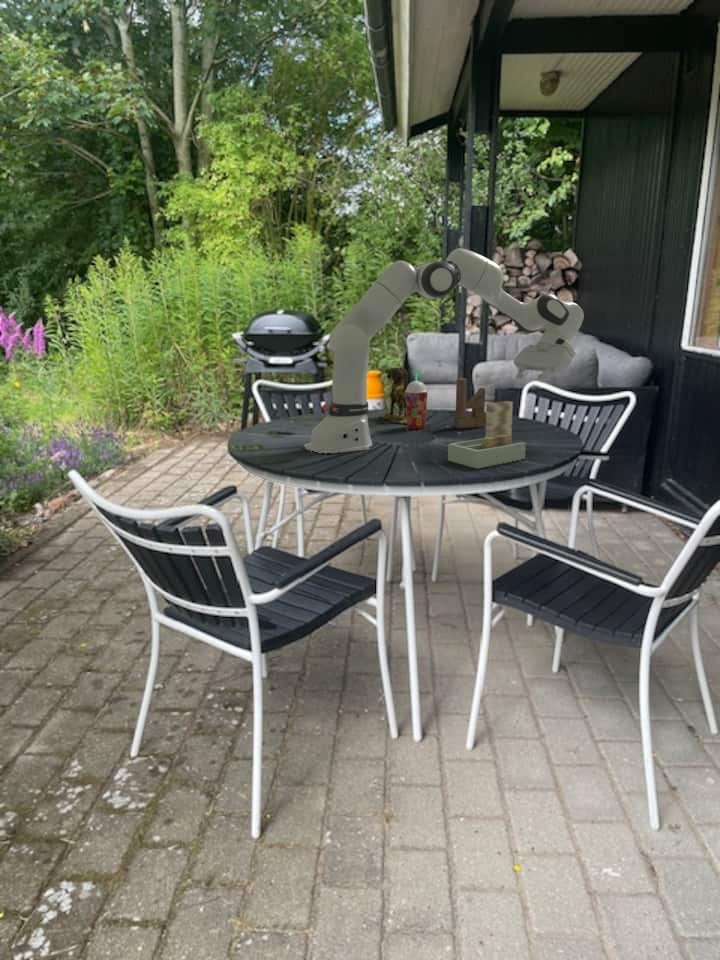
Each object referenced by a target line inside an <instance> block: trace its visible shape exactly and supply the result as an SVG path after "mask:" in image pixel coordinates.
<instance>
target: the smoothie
mask: <svg viewBox="0 0 720 960" xmlns="http://www.w3.org/2000/svg"><path fill="white" fill-rule="evenodd" d="M428 391H429V390H428V389H427V386H426V384H425V383H424V382H422V381H419V380H418V372H416V373H415V380H413V381H411V382H410V383H408V384H407V388H406V390H405V399H406V404H405V411H406V416H407V425H406V426H408V427H407V428H408V429H411V430H422V429H424V428H425V425H426V421H427V405H428Z"/></svg>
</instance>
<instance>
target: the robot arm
mask: <svg viewBox="0 0 720 960" xmlns="http://www.w3.org/2000/svg"><path fill="white" fill-rule="evenodd" d="M504 279H505V278H504V271H503V269H502V268H501V266H499V265H498V264H497V263H495V261H493V260H491V259H489V258H487V257H486V256H483V255H481V254H479V253H477V252H474V251H472V250H469V249H466V248H461V247H459V248H455V249H453V250H452V251H451V252H450V253H449V254H448V256H447V257H446V260H443V261H430V262H426V263H424V264H420V265H418V266H416V267H414V266H413V265H412V264H410V262H407V261H405V260H397V261H394V262H393V263H392V264H391V265H389V266H388V268H386V269H385V270H384V271H382V273H381V274H380V275H379V276H378V277H377V279H375V281H374V282H373V283H372V285H371V286H370V287H369V288H368V289H367V291H366V292H365V293H364V295H362V297H361V298H360V299H359V300H358V302H357V303H356V304H355V305H354V306H353V307H351V309H350V310H348V311H347V313H346V314H345V315H344V316H343V317H342V319H340V321H339V322H337V324H336V325H335V326H334V327H333V328H332V329H331V331H330V333H329V337H328V343H329V347H330V349H331V351H332V352H333V369H332V378H331V379H332V380H331V382H332V383H331V384H332V385H331V386H332V402H331V404H330V405H329V404H326V403H325V404H322V406H321V408H322V410H323V411H325V412H328V413H327V416H326V417H324V418H323V419H322V420H321V421H320V422H319V423H318V424H317V425H316V426H314V427H313V429H312V431H311V437H310V442H308V443H305V444H304V445H303V448H304V447H305V448H304V449H305V450H306V449H307V450H306V451H309V450H310V451H309V452H312V451H314V452H313V453H315V452H318V453H317V454H321V453H325V454H324V455H328V454H327V453H331V454H339V453H348V452H356V451H358V452H359V451H367V450H369V449H370V447H372V446H373V442H372V438H371V434H370V428H369V419H368V418H369V402H368V392H367V391H368V390H367V389H368V388H367V387H368V385H367V383H368V380H367V379H368V368H369V357H370V347H371V343H370V339H371V338H372V337H373V336H375V334H376V333H377V332H379V331H380V330H381V329H382V328H383V327H384V326H386V325H387V323H388V322H389V321H390V320H391V319H392V317H393V316H394V315H395V314H396V312H397V311H398V310H399V309H400V308H401V306H402V305H403V304H404V303H405V301H406V300H407V299H408V298H409V297H410V296H411V295H412V294H414V295H417V296H418V297H422V298H426V299H432V300H434V299H438V298H444V297H445V296H447V295H449V294H450V293H452V291H453V290H454V288H455V287H456V286H457V285H458V286H460V287H461V286H462V287H463V288H464V289H466V290H467V291H470V292H471V293H474V294H476V295H477V296H478V297H480V298H481V299H482V300H483V301H484V302H485V303H486V304H488V305H490V306H491V307H492V308H494V309H495V310H496V311H498V312H500V313H501V314H502V315H505V317H507V318H509V319H510V320H511V321H512V322H513V323H514V324H515V325H516V327H517V328H518V329H519V330H521V332H524V333H526V334H535V333H537V332H538V331H540V330H542V329H544V333H543V334H542V335H541V337H540V338H539V340H538V341H537V343H536V345H534V344H531V345H528V346H525V347H524V348H522V350H521V351H519V353H518V354H517V355H516V356H515V358H514V359H513V364H514V366H515V367H516V368H517V369H518V370H517V373H516V375H515V378H516V379H518V380H522V379H523V378H524V376H525V375H524V372H526V371H535V372H543V373H540V374H539V376H538V377H537V380H538V381H539V382H543V383H544V382H545V381H546V379H547V378H550V376H552V375H553V374H554V373H557V374H562V373H564V372H566V371H567V369H568V368H569V367H570V365H571V363H572V361H573V358H575V356H576V355H577V354H576V351H575V350H574V348H573V347H572V345H571V344H570V342H571V340H573V339H574V337H576V335H577V333H578V331H579V330H580V328H581V326H582V323H583V322H584V317H585V316H584V311H583V309H582V308H581V306H580V305H578V303H575V302H572V301H571V302H569V301H568V302H567V301H564V300H562V299H561V298H559V297H558V296H557V295H555V294H552V293H544V294H542V295H540V296H538V297H536V298H535V299H533V300H531V301H529V302H521V301H520V300H518V299H517V298H515V297H514V296H512V295H511V294H509V293H508V292H506V291H505V290H504V289H503V286H504V285H503V284H504ZM338 452H339V453H338Z"/></svg>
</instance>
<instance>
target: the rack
mask: <svg viewBox="0 0 720 960" xmlns="http://www.w3.org/2000/svg"><path fill="white" fill-rule="evenodd" d="M482 438H483V437H481V438H476V439H470V440H464V441H459V442H452V443H448V444H447V461H449V462H452V463H456V464H458V465H463V466H467V467H469V468H474V469H477V470H478V469H482V468H488V467H493V466H498V464H499V465H503V463H504V464H508V462H509V463H512V461H514V462H517V461H516V460H519V461H522V460H521V459H524V460H526V446H527V445H526V442H523V441H522V442H516V443H511V444H510V445H505V446H499V447H493V448H488V449H482Z"/></svg>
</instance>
